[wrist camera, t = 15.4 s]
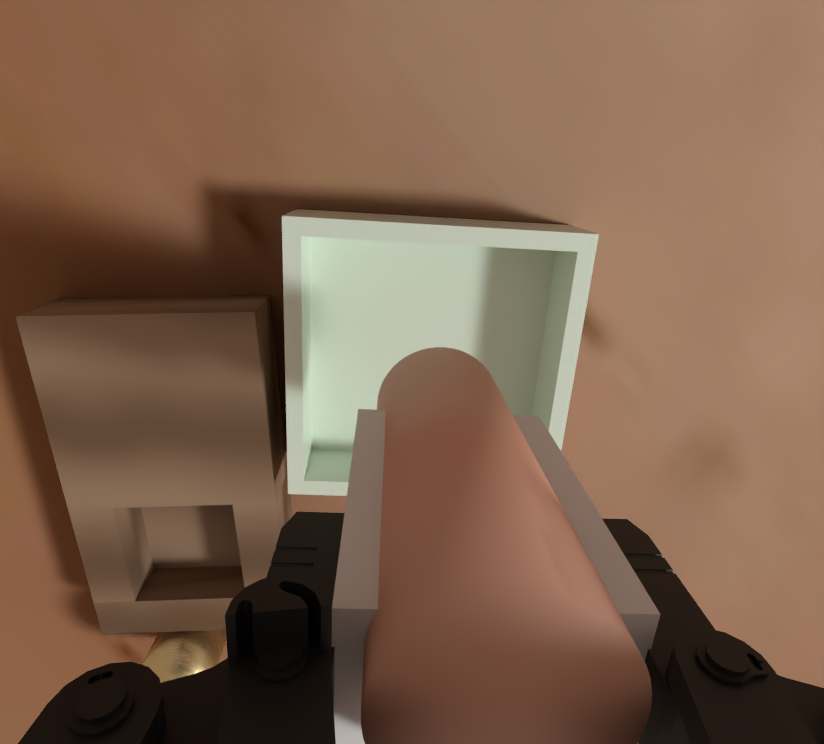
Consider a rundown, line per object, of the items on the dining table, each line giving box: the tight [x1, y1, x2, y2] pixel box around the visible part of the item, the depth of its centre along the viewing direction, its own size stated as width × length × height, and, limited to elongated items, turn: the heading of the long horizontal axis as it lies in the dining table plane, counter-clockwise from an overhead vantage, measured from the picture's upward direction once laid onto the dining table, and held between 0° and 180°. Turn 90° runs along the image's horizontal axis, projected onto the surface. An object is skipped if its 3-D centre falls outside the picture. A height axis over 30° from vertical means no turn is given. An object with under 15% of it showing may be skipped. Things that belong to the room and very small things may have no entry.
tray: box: [282, 209, 599, 496], centre depth 21 cm, size 10×10×3 cm
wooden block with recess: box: [15, 295, 292, 634], centre depth 22 cm, size 14×8×3 cm, turn 0°
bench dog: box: [142, 630, 227, 683], centre depth 25 cm, size 3×3×4 cm
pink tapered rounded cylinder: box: [361, 347, 652, 744], centre depth 11 cm, size 4×4×10 cm
